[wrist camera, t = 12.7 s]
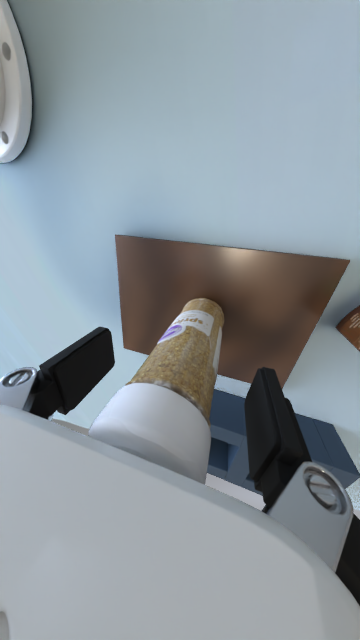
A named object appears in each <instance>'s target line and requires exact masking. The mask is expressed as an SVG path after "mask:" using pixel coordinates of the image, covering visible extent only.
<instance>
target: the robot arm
mask: <svg viewBox="0 0 360 640" xmlns="http://www.w3.org/2000/svg"><path fill="white" fill-rule="evenodd" d="M31 119H32V95H31V83H30V76H29V70H28V65H27V59H26V55H25V51H24V48H23V44H22V41H21V37H20V33H19V30H18V28H17V25H16V22H15V20H14V17H13V14H12V12H11V9H10V6H9V4H8V2H7V0H0V163H7V162H10V161H12V160H14V159H15V158H16V157H17V156H18V155H20V153H21V152H22V150H23V148H24V146H25V145H26V142H27V139H28V136H29V132H30V125H31ZM114 364H115V360H114V352H113V343H112V335H111V332H110V331H109V329H108V328H103V327H98V328H96V329H95V330H93V331H92V332H90V333H89V334H87V335H86V336H84V337H83V338H81V339H80V340H78V341H76V342H75V343H73V344H72V345H70V346H69V347H67V348H66V349H64V350H63V351H61V352H59V353H58V354H56V355H55V356H53V357H52V358H50V359H49V360H47V361H46V362H44V363H43V364H41V365H39V367H40V369H41V370H39V371H38V372H37V370H36V369H35V368H33V367H24V368H20V369H17V370H14V371H12V372H10V373H8V374H6V375H5V376H4V377H2V378H1V379H0V640H360V520H359V519H358V518H357V517H356V515H355V514H354V513H353V506H352V502H351V499H350V497H349V495H348V493H347V491H346V490H345V488H344V487H343V486H342V484H341V483H340V482H339V480H338V479H337V478H336V477H335V476H334V475H333V474H332V473H331V472H329V471H328V470H327V469H326V468H324V467H323V466H321V465H319V464H317V463H314V462H312V459H311V457H310V454H309V451H308V448H307V446H306V443H305V440H304V438H303V435H302V432H301V429H300V427H299V424H298V421H297V418H296V416H295V413H294V410H293V408H292V405H291V403H290V401H289V400H288V399H287V398H284V395H283V392H282V389H281V386H280V383H279V380H278V377H277V374H276V371H275V370H274V369H271V368H267V367H262V368H261V369H260V368H258V370H257V372H256V374H255V377H254V379H253V382H252V384H251V387H250V389H249V391H248V394H247V396H246V399H245V402H244V411H245V423H246V436H247V449H248V462H249V474H250V478H251V479H252V480H254V487H255V490H257V491H260V492H262V493H263V500H264V502H265V504H266V505H265V507H264V508H263V510H262V511H260V510H258V509H256V508H254V507H252V506H250V505H248V504H246V503H244V502H242V501H240V500H238V499H236V498H234V497H231V496H229V495H227V494H224V493H222V492H220V491H218V490H215V489H213V488H211V487H209V486H206V485H204V484H202V483H200V482H197V481H195V480H193V479H190V478H188V477H185V476H183V475H181V474H178V473H176V472H173V471H171V470H169V469H166V468H164V467H161V466H159V465H157V464H154V463H152V462H149V461H147V460H145V459H142V458H140V457H137V456H135V455H133V454H130V453H128V452H125V451H123V450H120V449H118V448H116V447H113V446H111V445H108V444H106V443H103V442H101V441H99V440H96V439H94V438H91V437H89V436H86V435H84V434H81V433H79V432H77V431H74V430H72V429H69V428H67V427H64V426H62V425H59V424H57V423H54V422H52V418H53V414H54V412H55V411H56V410H57V411H58V412H59V413H62V414H64V415H66V414H67V413H68V412H69V411H70V410H73V409H74V408H75V407H76V406H77V405H78V404H79V403H80V402H81V401H82V400H83V399H84V398H85V396H86V395H87V394H88V393H89V392H90V391H91V390H92V389H93V388H94V387H95V386H96V385H97V384H98V383H99V382H100V380H101V379H102V378H103V377H104V376H105V375H106V374H107V373H108V372H109V371H110V370H111V369H112V368H113V366H114Z"/></svg>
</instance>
